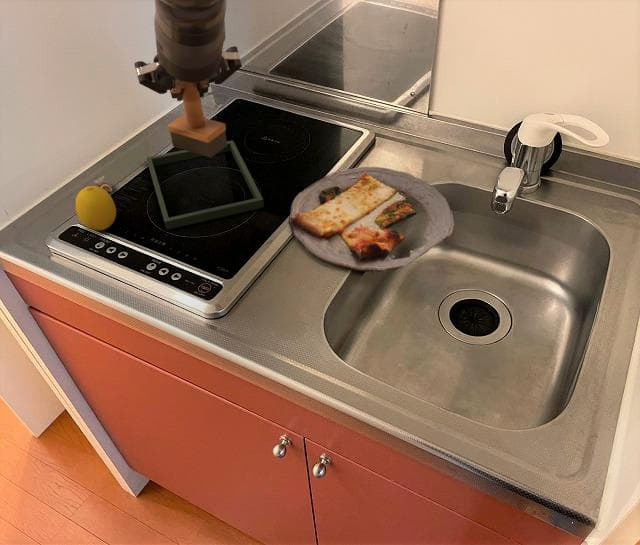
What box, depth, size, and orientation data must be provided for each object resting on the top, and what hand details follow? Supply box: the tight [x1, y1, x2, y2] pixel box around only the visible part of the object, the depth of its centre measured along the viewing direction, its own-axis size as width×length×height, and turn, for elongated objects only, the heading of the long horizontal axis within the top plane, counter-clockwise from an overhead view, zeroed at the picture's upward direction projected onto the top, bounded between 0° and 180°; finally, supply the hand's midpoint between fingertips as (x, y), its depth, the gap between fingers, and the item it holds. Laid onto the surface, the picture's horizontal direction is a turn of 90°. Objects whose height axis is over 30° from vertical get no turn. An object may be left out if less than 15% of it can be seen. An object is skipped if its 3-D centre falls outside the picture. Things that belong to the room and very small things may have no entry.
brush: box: [167, 82, 228, 159], centre depth 80 cm, size 7×4×12 cm, turn 61°
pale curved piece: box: [93, 176, 113, 193], centre depth 94 cm, size 3×2×4 cm
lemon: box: [75, 185, 117, 231], centre depth 86 cm, size 6×6×8 cm
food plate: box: [287, 166, 455, 274], centre depth 88 cm, size 25×23×4 cm
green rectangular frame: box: [146, 140, 265, 230], centre depth 96 cm, size 20×16×2 cm
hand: (188, 92), depth 81 cm, fingers closed on brush, 2 cm apart
